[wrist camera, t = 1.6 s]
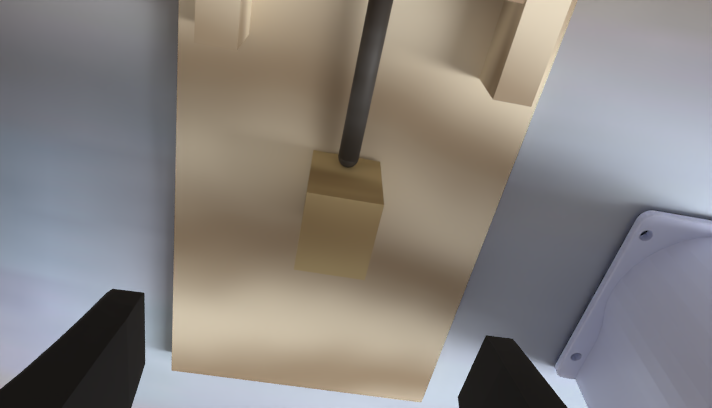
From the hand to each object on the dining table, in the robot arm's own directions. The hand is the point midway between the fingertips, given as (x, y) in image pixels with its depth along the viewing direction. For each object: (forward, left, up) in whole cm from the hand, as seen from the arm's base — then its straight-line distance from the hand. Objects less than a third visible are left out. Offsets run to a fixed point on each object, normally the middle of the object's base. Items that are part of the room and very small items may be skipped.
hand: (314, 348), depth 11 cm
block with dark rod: (+5, -1, -9) cm, 10 cm away
